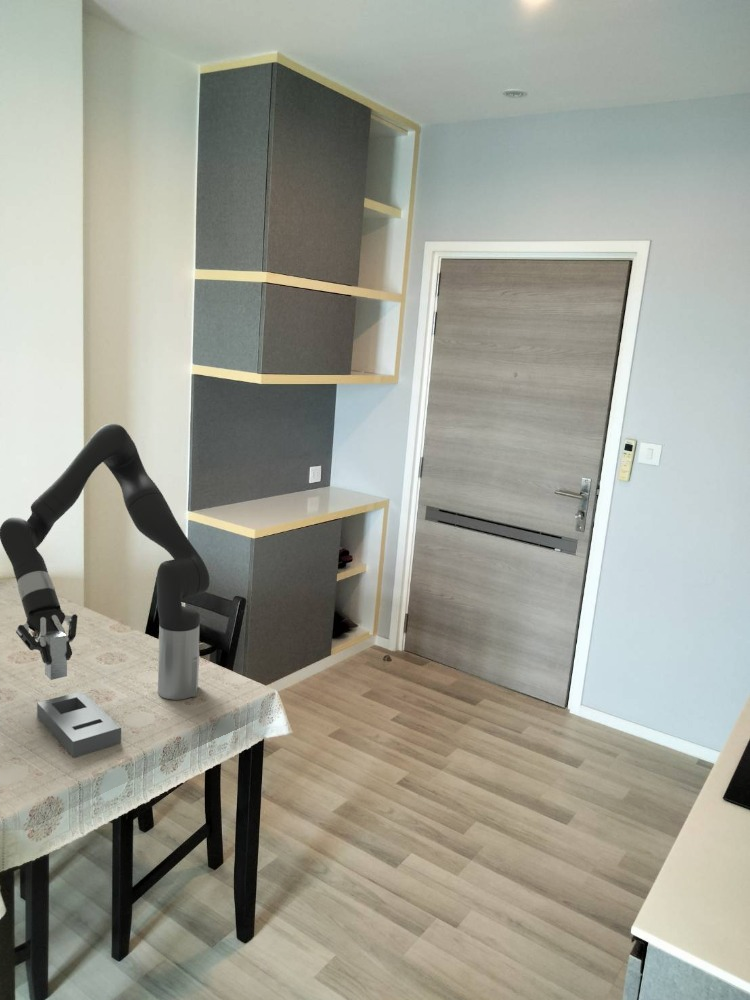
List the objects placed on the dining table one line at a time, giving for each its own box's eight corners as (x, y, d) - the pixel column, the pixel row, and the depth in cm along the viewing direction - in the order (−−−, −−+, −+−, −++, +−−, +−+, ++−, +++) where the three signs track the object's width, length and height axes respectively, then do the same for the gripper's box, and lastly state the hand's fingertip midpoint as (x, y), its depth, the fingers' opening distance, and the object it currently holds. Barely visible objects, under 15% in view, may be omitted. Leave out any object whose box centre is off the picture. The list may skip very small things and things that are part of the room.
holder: (37, 717, 166) (37, 702, 165) (82, 705, 173) (82, 690, 172) (73, 757, 152) (73, 741, 151) (120, 742, 159) (121, 727, 158)
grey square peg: (45, 674, 174) (44, 633, 172) (61, 670, 176) (60, 630, 174) (51, 680, 171) (50, 638, 169) (67, 676, 174) (66, 635, 172)
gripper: (64, 597, 185) (85, 660, 179) (2, 608, 175) (22, 675, 169) (72, 582, 180) (94, 647, 174) (9, 592, 170) (30, 661, 164)
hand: (58, 660), depth 171 cm, fingers closed on grey square peg, 3 cm apart
